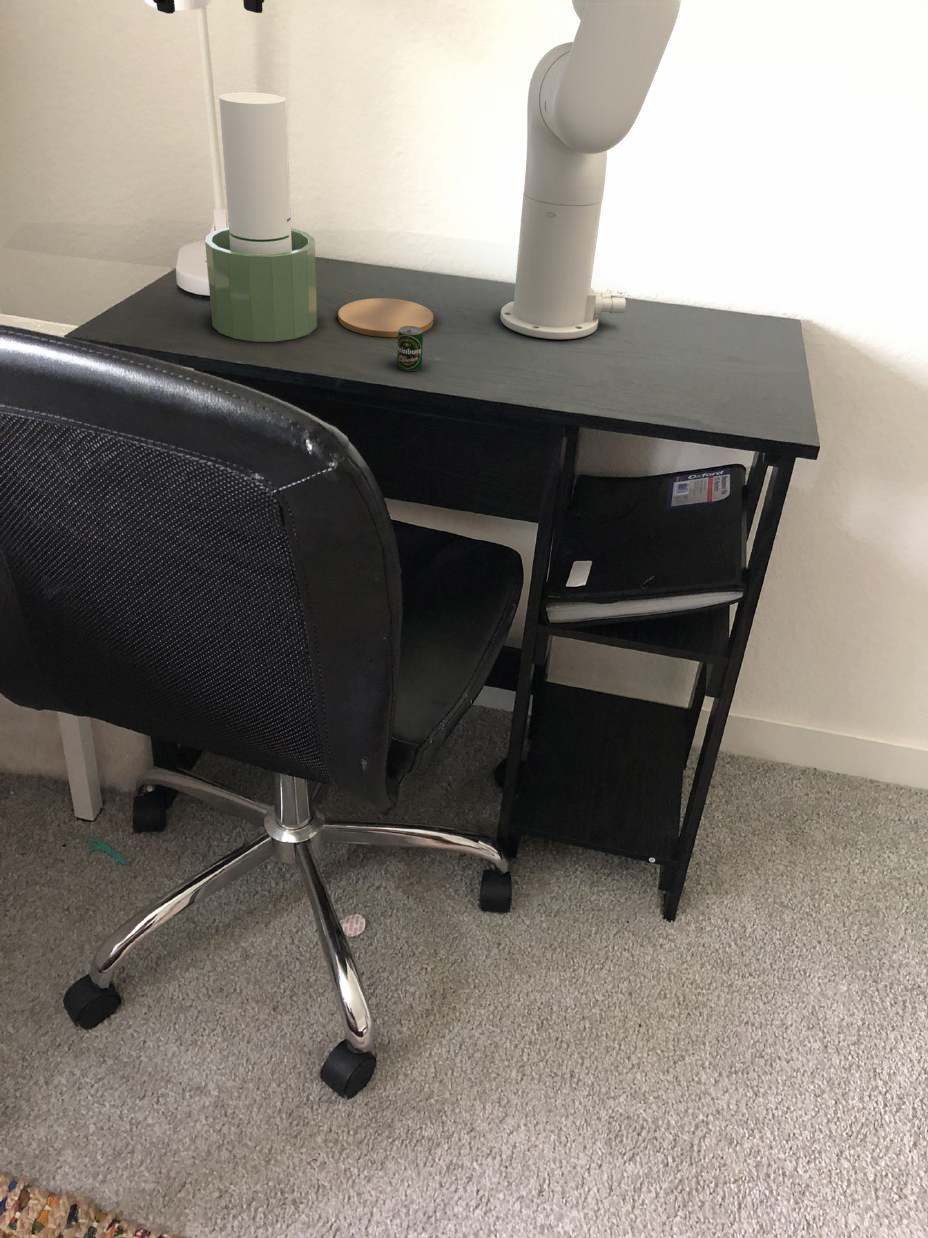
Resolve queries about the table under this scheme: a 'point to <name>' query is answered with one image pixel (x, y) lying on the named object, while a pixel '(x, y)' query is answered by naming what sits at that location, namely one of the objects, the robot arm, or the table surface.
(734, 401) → the table surface
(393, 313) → the coaster
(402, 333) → the beer can
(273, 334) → the crock
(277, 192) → the cylindrical container
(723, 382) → the table surface
